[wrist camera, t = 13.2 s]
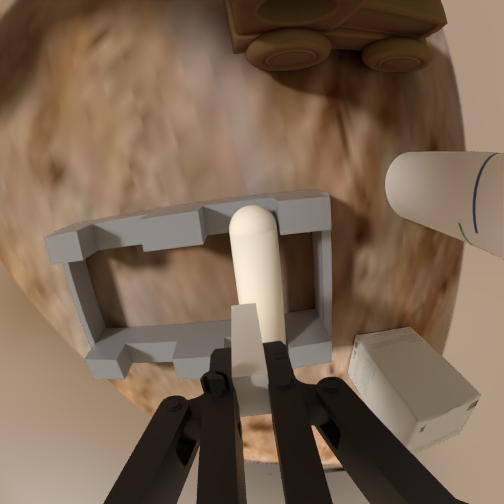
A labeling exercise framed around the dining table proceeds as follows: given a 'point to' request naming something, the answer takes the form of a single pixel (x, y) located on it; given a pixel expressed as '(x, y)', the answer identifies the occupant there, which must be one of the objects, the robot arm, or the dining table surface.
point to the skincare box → (411, 387)
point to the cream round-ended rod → (259, 268)
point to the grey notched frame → (181, 235)
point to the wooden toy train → (334, 31)
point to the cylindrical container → (452, 194)
